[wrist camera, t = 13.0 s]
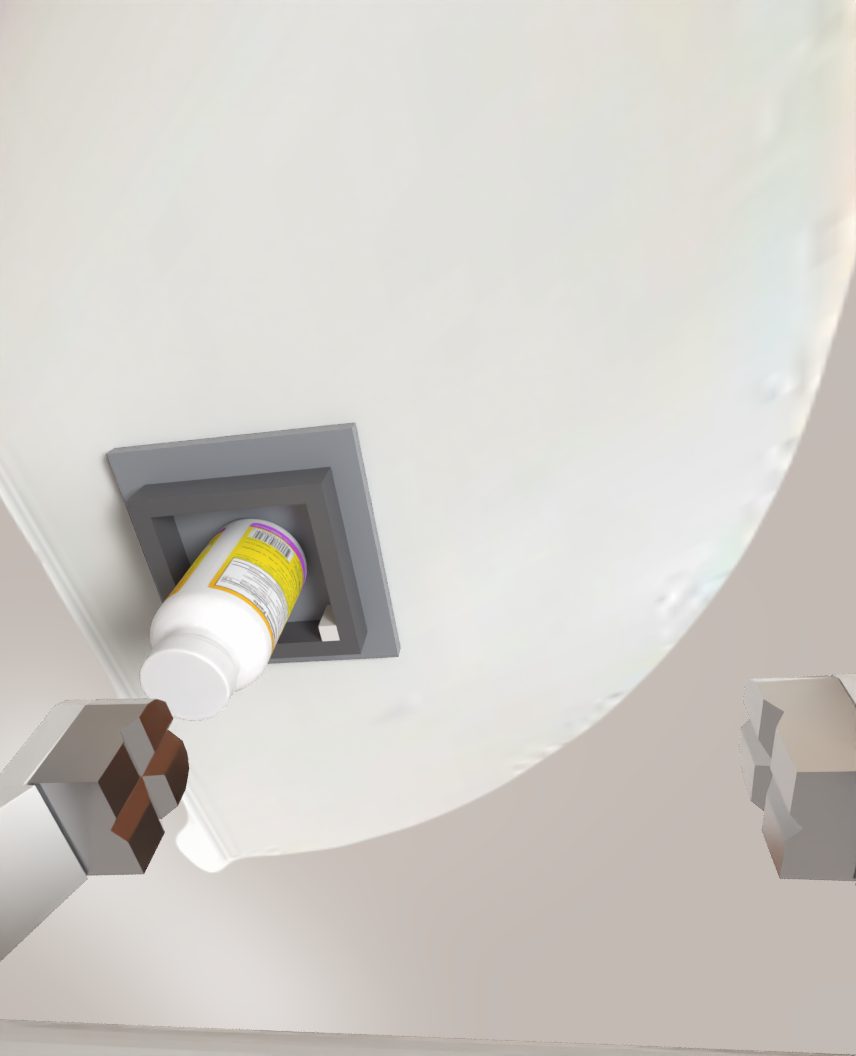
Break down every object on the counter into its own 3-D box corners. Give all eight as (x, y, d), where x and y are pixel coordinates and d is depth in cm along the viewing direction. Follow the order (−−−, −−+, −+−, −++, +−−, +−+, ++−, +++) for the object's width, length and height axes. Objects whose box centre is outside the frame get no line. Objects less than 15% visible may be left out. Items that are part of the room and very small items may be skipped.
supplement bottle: (227, 603, 49) (142, 738, 38) (200, 518, 46) (98, 637, 35) (320, 597, 48) (261, 734, 37) (298, 510, 45) (227, 630, 34)
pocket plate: (114, 448, 45) (85, 469, 42) (355, 422, 43) (343, 443, 40) (192, 659, 53) (172, 690, 50) (400, 648, 50) (393, 680, 47)
